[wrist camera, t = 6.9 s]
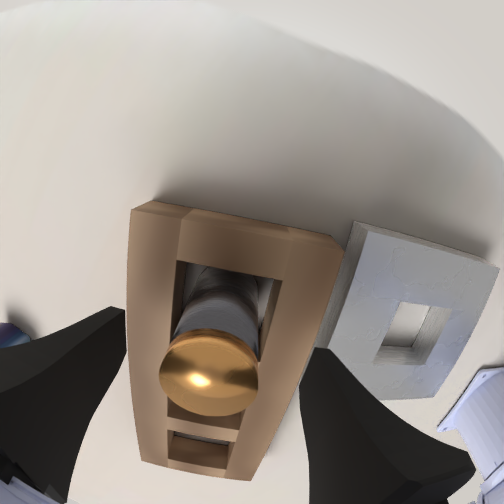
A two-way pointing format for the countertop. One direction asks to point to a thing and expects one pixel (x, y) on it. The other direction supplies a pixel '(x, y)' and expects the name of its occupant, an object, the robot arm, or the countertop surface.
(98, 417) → the countertop surface
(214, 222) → the rack
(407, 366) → the socket block
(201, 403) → the steel peg
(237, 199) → the countertop surface
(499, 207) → the countertop surface
